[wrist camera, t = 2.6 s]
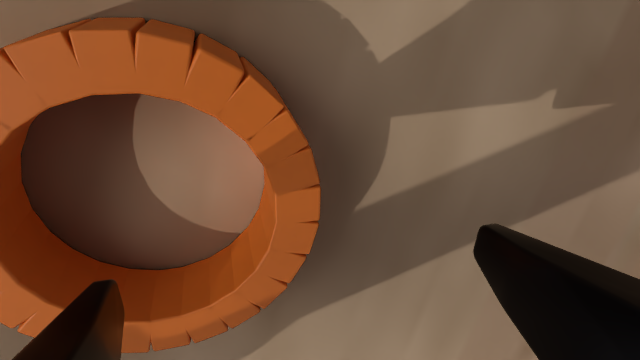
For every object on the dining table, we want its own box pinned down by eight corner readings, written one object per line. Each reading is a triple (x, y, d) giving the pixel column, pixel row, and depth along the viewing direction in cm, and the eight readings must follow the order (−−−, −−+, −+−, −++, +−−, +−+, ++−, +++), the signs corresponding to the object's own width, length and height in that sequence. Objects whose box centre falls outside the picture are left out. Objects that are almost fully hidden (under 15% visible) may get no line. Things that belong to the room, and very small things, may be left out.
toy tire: (28, 318, 14) (-3, 382, 12) (-111, 16, 9) (-206, 31, 7) (302, 275, 16) (317, 321, 14) (303, 17, 11) (327, 28, 9)
